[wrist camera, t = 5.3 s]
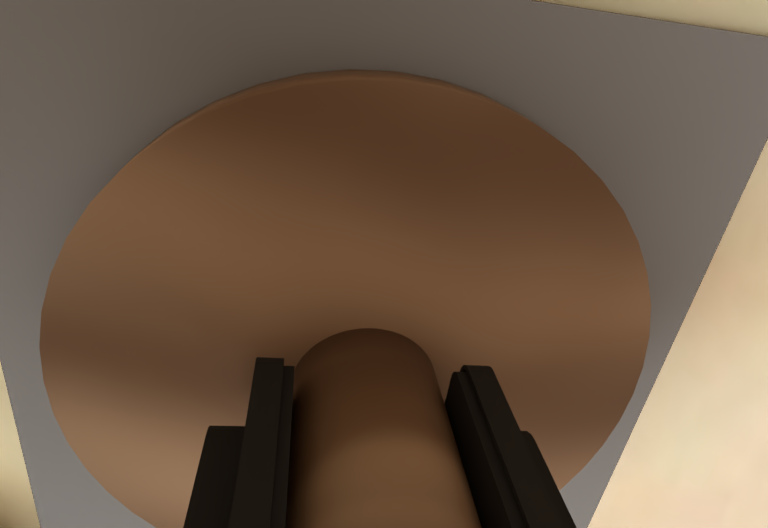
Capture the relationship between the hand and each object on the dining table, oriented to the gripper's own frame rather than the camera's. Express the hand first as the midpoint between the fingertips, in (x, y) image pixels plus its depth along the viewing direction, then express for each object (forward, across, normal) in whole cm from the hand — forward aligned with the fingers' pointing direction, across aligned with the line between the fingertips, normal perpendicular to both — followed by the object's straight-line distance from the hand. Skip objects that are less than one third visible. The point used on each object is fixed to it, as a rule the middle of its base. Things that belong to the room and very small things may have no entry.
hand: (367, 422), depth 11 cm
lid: (+2, 0, 0) cm, 2 cm away
